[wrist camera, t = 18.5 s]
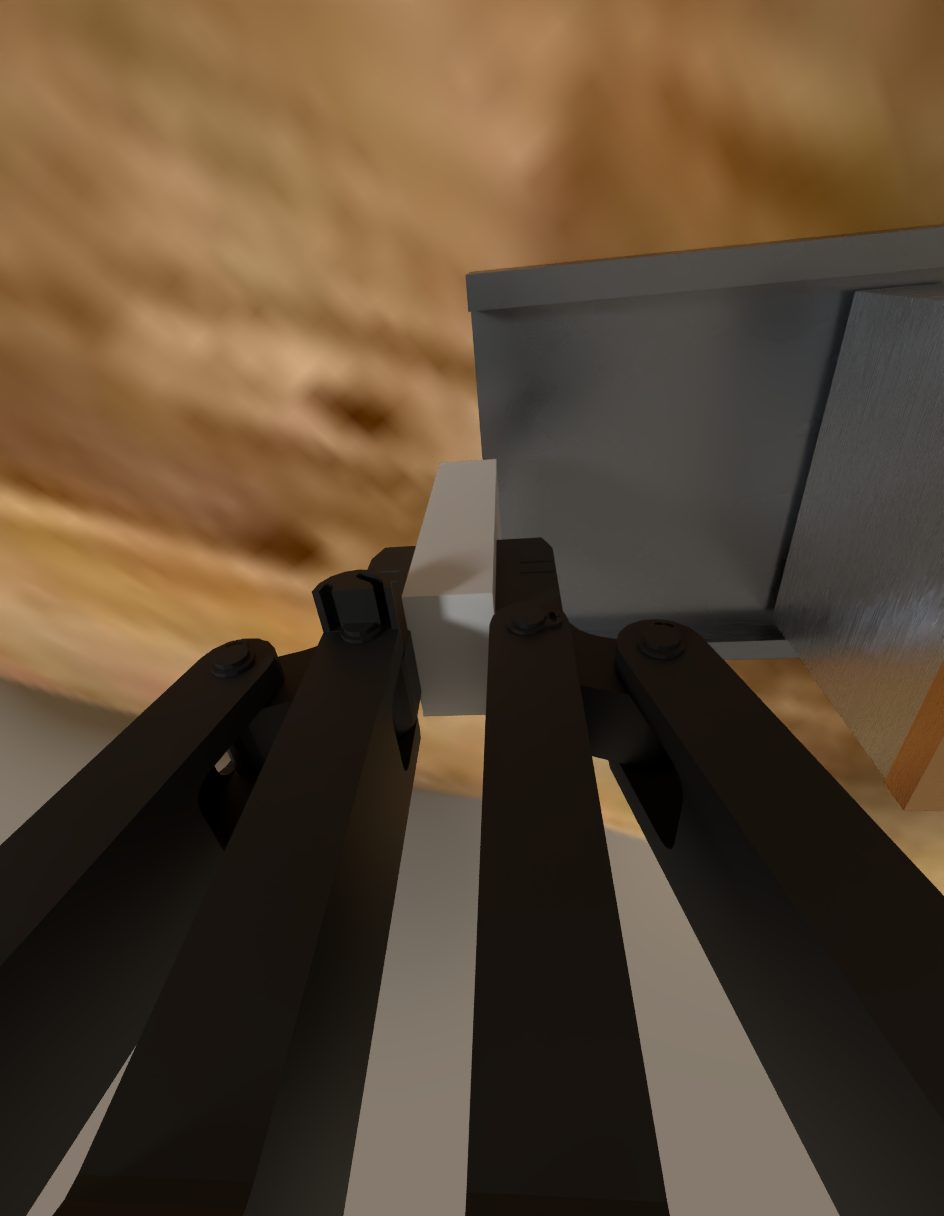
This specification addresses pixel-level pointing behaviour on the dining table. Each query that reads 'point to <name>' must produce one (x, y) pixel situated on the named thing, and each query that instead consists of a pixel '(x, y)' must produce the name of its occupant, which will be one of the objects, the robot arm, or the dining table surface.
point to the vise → (672, 417)
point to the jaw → (879, 541)
